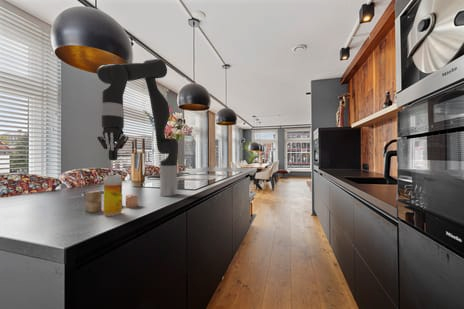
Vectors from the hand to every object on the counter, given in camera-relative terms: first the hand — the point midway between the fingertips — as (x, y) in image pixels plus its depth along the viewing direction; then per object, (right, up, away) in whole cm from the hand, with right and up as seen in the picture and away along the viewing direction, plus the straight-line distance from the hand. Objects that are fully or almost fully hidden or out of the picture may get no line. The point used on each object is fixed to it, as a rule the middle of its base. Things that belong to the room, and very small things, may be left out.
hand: (113, 160), depth 80 cm
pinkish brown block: (+1, -21, +12) cm, 25 cm away
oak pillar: (-11, -21, +5) cm, 24 cm away
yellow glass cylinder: (0, -21, 0) cm, 21 cm away
